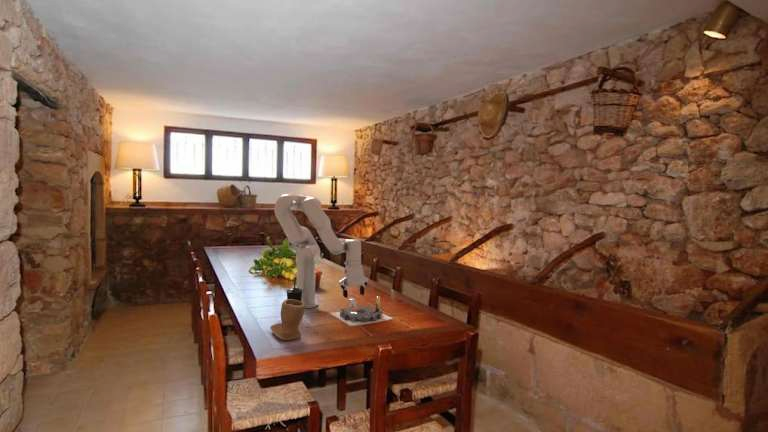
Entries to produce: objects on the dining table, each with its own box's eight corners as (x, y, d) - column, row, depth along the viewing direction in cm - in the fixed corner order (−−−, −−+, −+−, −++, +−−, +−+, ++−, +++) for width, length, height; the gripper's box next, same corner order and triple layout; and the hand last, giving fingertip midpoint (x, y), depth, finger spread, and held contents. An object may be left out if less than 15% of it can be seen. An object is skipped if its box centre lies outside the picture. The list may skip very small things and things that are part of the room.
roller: (350, 310, 217) (350, 300, 216) (346, 308, 220) (346, 298, 220) (357, 309, 219) (357, 299, 219) (353, 307, 222) (353, 297, 222)
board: (350, 326, 190) (350, 325, 190) (330, 314, 208) (330, 313, 208) (392, 319, 203) (393, 318, 203) (370, 308, 220) (370, 307, 220)
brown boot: (308, 339, 172) (309, 303, 171) (279, 343, 166) (280, 306, 166) (296, 328, 185) (297, 294, 185) (269, 331, 180) (270, 297, 179)
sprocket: (386, 321, 197) (386, 302, 197) (342, 322, 193) (342, 302, 193) (378, 308, 217) (379, 291, 217) (338, 309, 213) (338, 292, 213)
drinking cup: (287, 322, 193) (288, 279, 192) (283, 317, 200) (284, 275, 199) (304, 320, 196) (305, 278, 195) (299, 316, 203) (300, 274, 202)
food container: (294, 285, 267) (294, 268, 266) (319, 284, 272) (320, 268, 271) (296, 291, 252) (297, 273, 251) (323, 290, 257) (324, 273, 256)
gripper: (342, 265, 210) (342, 299, 211) (371, 262, 220) (371, 295, 220) (335, 263, 216) (335, 296, 217) (364, 260, 226) (364, 292, 227)
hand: (353, 296), depth 219 cm, fingers open, 9 cm apart
